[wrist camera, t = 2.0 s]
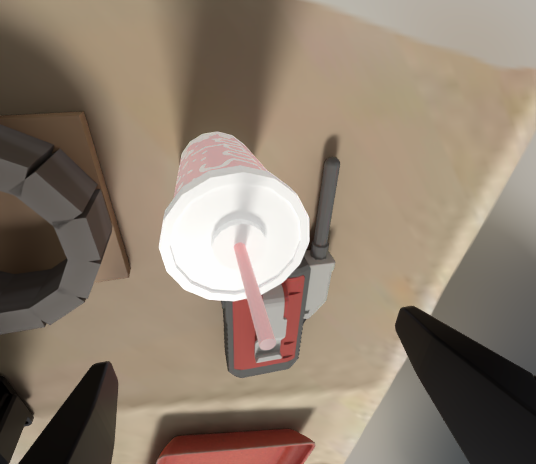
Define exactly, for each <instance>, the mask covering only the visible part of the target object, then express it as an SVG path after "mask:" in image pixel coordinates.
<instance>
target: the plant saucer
mask: <svg viewBox="0 0 536 464" xmlns="http://www.w3.org/2000/svg"><path fill="white" fill-rule="evenodd" d="M314 447H315V442H313V441H312V440H311V439H309V438H308V437H306V436H304V435H302V434H300V433H298V432H296V431H294V430H292V429H275V430H261V431H246V432H231V433H215V434H199V435H184V436H176V437H174V438H173V439H172V440H171V441H170V442H169V443H168V444H167V445H166V447H165V448H164V449H163V451H162V452H161V454H160V455H159V457H158V459H157V462H156V464H304V462H305V461H306V460H307V458H308V457H309V455H310V454H311V452H312V451H313V449H314Z"/></svg>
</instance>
